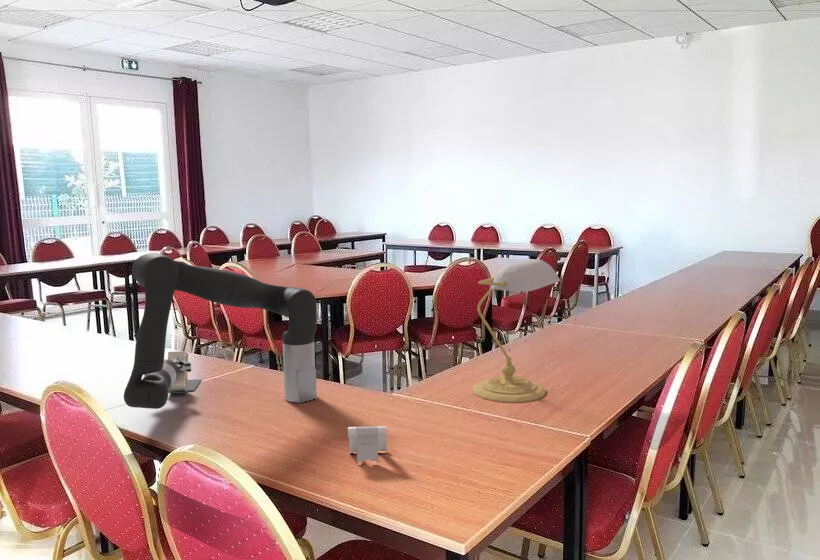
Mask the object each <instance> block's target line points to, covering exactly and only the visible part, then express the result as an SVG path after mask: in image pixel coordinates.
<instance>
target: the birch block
mask: <svg viewBox="0 0 820 560" xmlns="http://www.w3.org/2000/svg"><path fill="white" fill-rule="evenodd" d="M173 357H178V359H180V360H184V361H187V362H189V353H188V352H187V351H185V350H183V351H168V352H167V360H170V359H172V358H173ZM188 380H189V372H187V371H184V370H183V372H182V373H180V374H179V377H178V379H177V380H176V381H175V383H174V384H173V385H172V386H171V387H170V388H169V389H168V392H169V393H170V394H173V393H175V394H176V393H177V394H178V393H179V394H180V393H188V392H187V386H188Z"/></svg>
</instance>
